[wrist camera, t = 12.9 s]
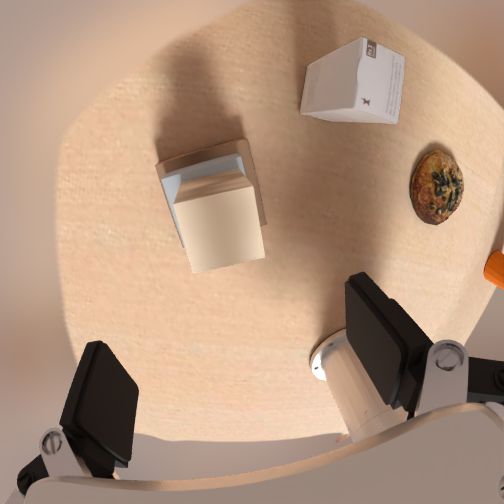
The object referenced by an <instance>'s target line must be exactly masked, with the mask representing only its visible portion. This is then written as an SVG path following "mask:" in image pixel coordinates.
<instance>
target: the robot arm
mask: <svg viewBox="0 0 504 504" xmlns="http://www.w3.org/2000/svg"><path fill="white" fill-rule="evenodd" d="M345 301H346V329H343V330H341V331H339V332H337V333H335V334H333V335H331V336H330V337H328V338H327V339H326V340H325V341H323V342H322V343H321V344H320V345H319V346H318V347H317V349H316V350H315V352H314V353H313V355H312V357H311V361H310V367H311V370H312V373H313V374H314V376H316V377H317V378H319V379H322V380H326V381H327V384H328V386H329V388H330V390H331V393H332V395H333V397H334V399H335V401H336V404H337V406H338V408H339V410H340V413H341V415H342V417H343V419H344V422H345V424H346V426H347V428H348V431H349V433H350V435H351V437H352V440H353V441H354V443H353V444H350V445H347V446H345V447H342V448H339V449H336V450H333V451H331V452H328V453H325V454H322V455H318V456H315V457H312V458H308V459H305V460H301V461H298V462H294V463H290V464H287V465H282V466H278V467H273V468H269V469H264V470H259V471H254V472H249V473H243V474H237V475H231V476H223V477H214V478H205V479H192V480H172V481H137V480H121V479H120V478H119V477H118V475H117V474H116V472H115V471H114V467H115V466H116V467H121V468H128V461H130V460H131V455H132V444H133V434H134V425H135V417H136V409H137V402H138V395H139V389H138V386H137V384H136V383H135V382H134V380H133V379H132V378H131V377H130V375H129V374H128V373H127V371H126V370H125V369H124V367H123V366H122V365H121V363H120V362H119V361H118V359H117V358H116V356H115V355H114V354H113V352H112V351H111V349H110V348H109V346H108V345H107V344H106V343H103V342H102V341H100V340H99V341H93V342H89V343H87V345H86V347H85V350H84V352H83V355H82V357H81V360H80V362H79V365H78V368H77V370H76V373H75V376H74V379H73V382H72V385H71V388H70V390H69V394H68V397H67V400H66V403H65V406H64V409H63V412H62V416H61V419H60V423H59V424H60V425H61V426H62V427H63V429H62V430H60V429H59V428H51V429H49V430H47V431H46V432H45V433H44V434H43V436H42V438H41V440H40V444H39V448H40V452H41V454H40V455H39V456H38V457H36V458H35V459H34V460H33V461H32V462H30V463H29V464H28V465H27V466H25V467H24V468H23V469H22V470H21V471H20V473H19V475H18V478H17V485H18V488H15V490H14V491H13V493H12V494H11V496H10V497H9V499H8V500H7V502H6V504H504V362H503V361H495V360H488V359H481V358H474V357H468V353H467V351H466V349H465V348H464V347H463V346H462V345H461V344H460V343H458V342H456V341H453V340H441V341H438V342H436V343H435V344H434V343H433V342H432V341H431V340H430V339H429V337H428V336H427V335H426V334H425V333H424V332H423V331H422V329H421V328H420V327H419V326H418V325H417V324H416V323H415V321H414V320H413V319H412V318H411V317H410V316H409V315H408V314H407V312H406V311H405V310H404V309H403V308H402V307H401V306H400V305H399V304H398V303H397V302H396V301H395V300H394V299H392V298H390V299H389V298H388V296H387V295H386V294H385V293H384V292H383V291H382V290H381V289H380V288H379V287H378V286H377V285H376V284H375V282H374V281H373V280H372V279H371V278H370V277H369V276H368V275H367V274H366V273H365V272H361V273H358V274H355V275H352V276H350V277H349V281H346V282H345Z"/></svg>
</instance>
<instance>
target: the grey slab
mask: <svg viewBox="0 0 504 504" xmlns="http://www.w3.org/2000/svg"><path fill="white" fill-rule="evenodd" d="M234 169H240V170H241V172H242V173H243V174H244V175H245V171H244V167H243V163H242V158H241V156H240V155H239V154H238V153H234V154H230V155H227V156H223V157H219V158H215V159H212V160H208V161H205V162H201V163H198V164H194V165H191V166H187V167H184V168H181V169H178V170H174V171H171V172H168V173H165V175H164V176H163V178H162V179H161V181H162V184H163V187H164V190H165V193H166V196H167V199H168V202H169V205H170V208H171V211H172V214H173V217H174V220H175V223H176V226H177V229H178V231H179V234H180V237H181V240H182V243H183V245H184V241H183V238H182V235H181V231H180V228H179V224H178V221H177V217H176V213H175V210H174V206H173V203H174V200H175V198H176V195H177V192H178V189H179V186H180V184H181V182H182V181H186V180H190V179H194V178H198V177H202V176H207V175H211V174H216V173H220V172H225V171H229V170H234ZM245 177H246V175H245ZM184 248H185V245H184ZM185 251H186V248H185Z"/></svg>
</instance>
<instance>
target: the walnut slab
mask: <svg viewBox="0 0 504 504" xmlns="http://www.w3.org/2000/svg"><path fill="white" fill-rule="evenodd" d="M234 153H238V154H239V155H240V156H241V158H242V163H243V167H244V171H245V175H246V178H247V179H248V180H249V182H250V183H251V184H252V185H253V188H254V194H255V200H256V206H257V211H258V217H259V223H260V226H263V225H266V224H267V222H266V218H265V213H264V209H263V204H262V200H261V195H260V191H259V187H258V182H257V178H256V174H255V169H254V165H253V161H252V157H251V152H250V148H249V144H248V140H247V139H246V138H240V139H236V140H232V141H228V142H224V143H220V144H217V145H213V146H209V147H206V148H202V149H199V150H195V151H192V152H189V153H185V154H182V155H179V156H176V157H173V158H170V159H167V160H163V161H160V162H159V163H157V164H156V165H155V167H156V170H157V173H158V176H159V179H160V182H161V185H162V188H163V192H164V195H165V198H166V201H167V204H168V206H169V209H170V212H171V215H172V218H173V221H174V224H175V227H176V229H177V226H176V223H175V220H174V217H173V214H172V211H171V208H170V205H169V202H168V199H167V196H166V193H165V190H164V187H163V184H162V181H161V179H162V178H163V176H164V175H165V173H168V172H171V171H174V170H178V169H181V168H184V167H187V166H191V165H194V164H198V163H201V162H205V161H208V160H212V159H215V158H219V157H223V156H227V155H230V154H234ZM177 232H178V235H179V238H180V240H181V237H180V234H179V231H178V229H177ZM181 243H182V240H181ZM182 246H183V248H184V245H183V243H182Z"/></svg>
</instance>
